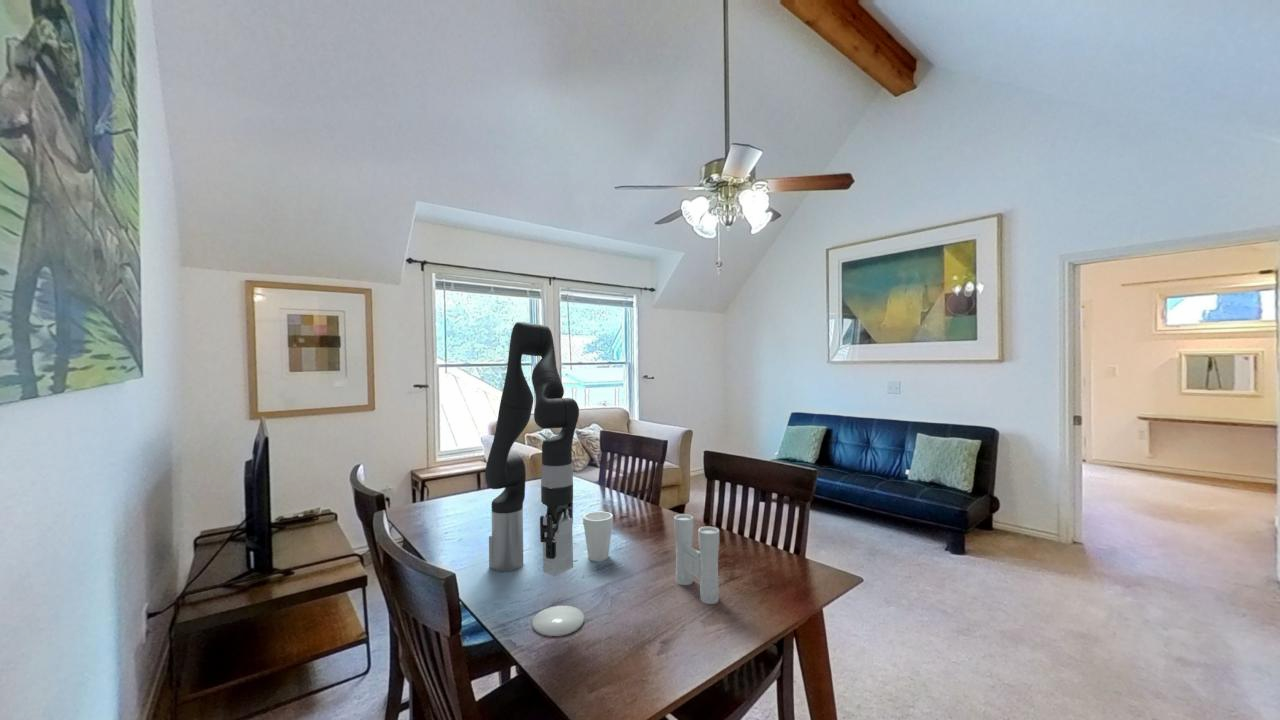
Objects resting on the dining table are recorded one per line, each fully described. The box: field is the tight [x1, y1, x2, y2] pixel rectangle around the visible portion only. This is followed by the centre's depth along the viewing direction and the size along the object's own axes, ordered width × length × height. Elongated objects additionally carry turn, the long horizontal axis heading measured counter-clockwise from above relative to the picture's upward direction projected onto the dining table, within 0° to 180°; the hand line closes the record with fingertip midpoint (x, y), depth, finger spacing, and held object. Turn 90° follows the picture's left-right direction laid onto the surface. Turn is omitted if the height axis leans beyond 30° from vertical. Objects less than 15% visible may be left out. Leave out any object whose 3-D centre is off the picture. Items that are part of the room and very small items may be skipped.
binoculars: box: [673, 513, 720, 605], centre depth 128 cm, size 17×5×18 cm, turn 28°
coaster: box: [532, 605, 585, 637], centre depth 113 cm, size 12×12×1 cm
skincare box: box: [542, 518, 574, 577], centre depth 113 cm, size 6×4×12 cm
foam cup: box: [582, 510, 614, 562], centre depth 150 cm, size 10×9×13 cm
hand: (557, 551), depth 113 cm, fingers closed on skincare box, 7 cm apart
